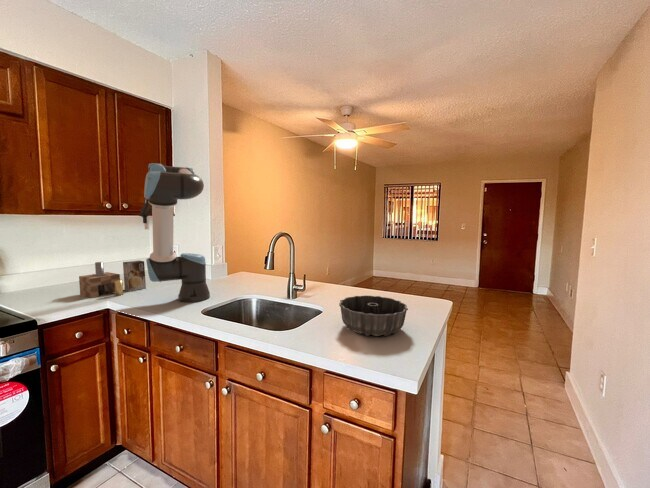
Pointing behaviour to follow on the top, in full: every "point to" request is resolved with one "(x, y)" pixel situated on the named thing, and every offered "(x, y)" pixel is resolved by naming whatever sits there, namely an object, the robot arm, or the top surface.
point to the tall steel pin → (100, 272)
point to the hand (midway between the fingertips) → (158, 228)
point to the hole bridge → (97, 283)
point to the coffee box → (134, 275)
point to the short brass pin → (118, 287)
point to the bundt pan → (373, 314)
